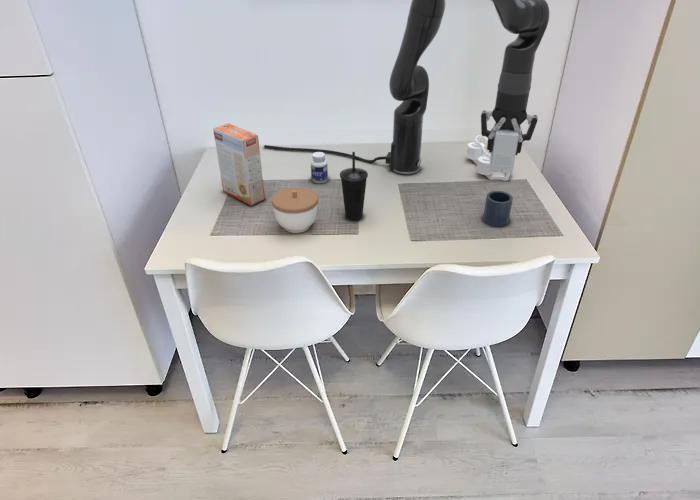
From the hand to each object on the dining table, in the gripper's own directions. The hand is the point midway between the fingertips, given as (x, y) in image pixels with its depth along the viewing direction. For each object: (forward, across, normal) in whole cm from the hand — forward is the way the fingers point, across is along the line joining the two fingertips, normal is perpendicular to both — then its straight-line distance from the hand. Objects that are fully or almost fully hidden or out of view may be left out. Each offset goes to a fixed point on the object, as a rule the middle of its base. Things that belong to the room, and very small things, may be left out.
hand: (503, 152), depth 139 cm
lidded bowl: (+21, +52, +18) cm, 59 cm away
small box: (+4, 0, 0) cm, 4 cm away
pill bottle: (+21, +55, -10) cm, 60 cm away
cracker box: (+21, +74, +6) cm, 77 cm away
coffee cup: (+21, -1, 0) cm, 21 cm away
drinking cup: (+21, +38, +9) cm, 44 cm away
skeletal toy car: (+21, +4, -33) cm, 40 cm away
